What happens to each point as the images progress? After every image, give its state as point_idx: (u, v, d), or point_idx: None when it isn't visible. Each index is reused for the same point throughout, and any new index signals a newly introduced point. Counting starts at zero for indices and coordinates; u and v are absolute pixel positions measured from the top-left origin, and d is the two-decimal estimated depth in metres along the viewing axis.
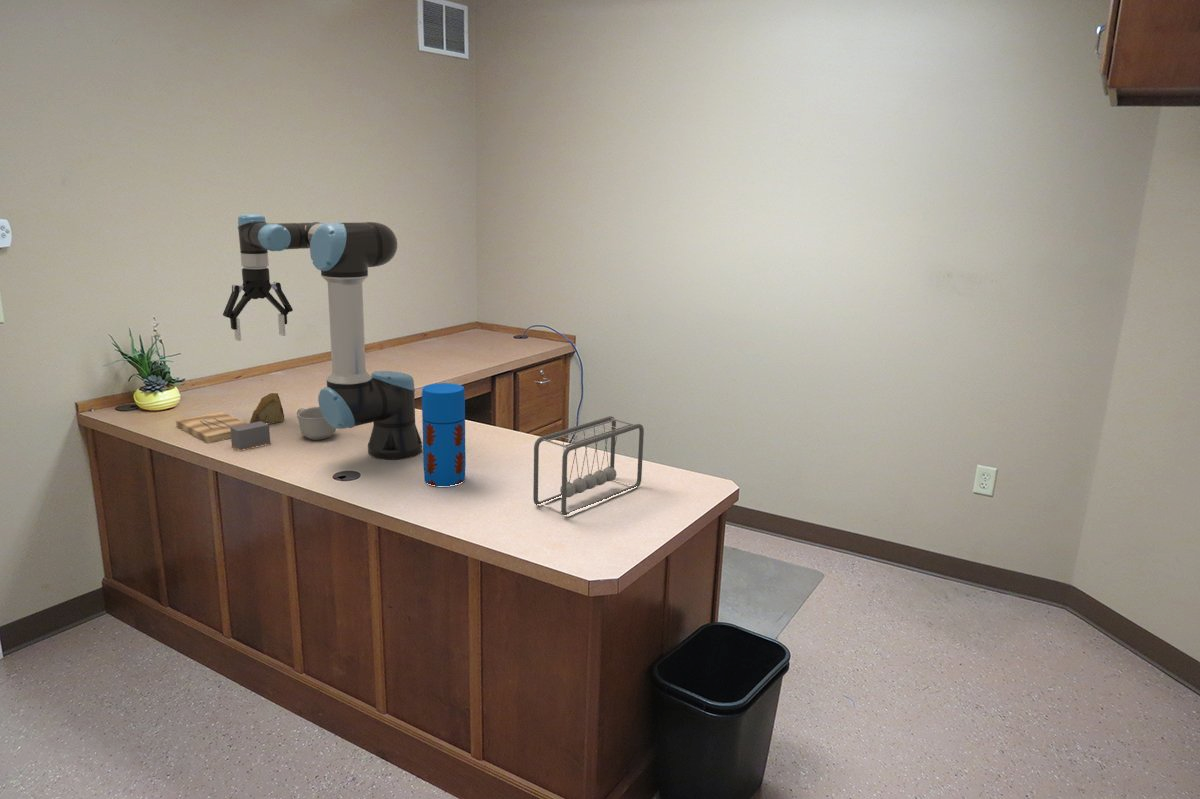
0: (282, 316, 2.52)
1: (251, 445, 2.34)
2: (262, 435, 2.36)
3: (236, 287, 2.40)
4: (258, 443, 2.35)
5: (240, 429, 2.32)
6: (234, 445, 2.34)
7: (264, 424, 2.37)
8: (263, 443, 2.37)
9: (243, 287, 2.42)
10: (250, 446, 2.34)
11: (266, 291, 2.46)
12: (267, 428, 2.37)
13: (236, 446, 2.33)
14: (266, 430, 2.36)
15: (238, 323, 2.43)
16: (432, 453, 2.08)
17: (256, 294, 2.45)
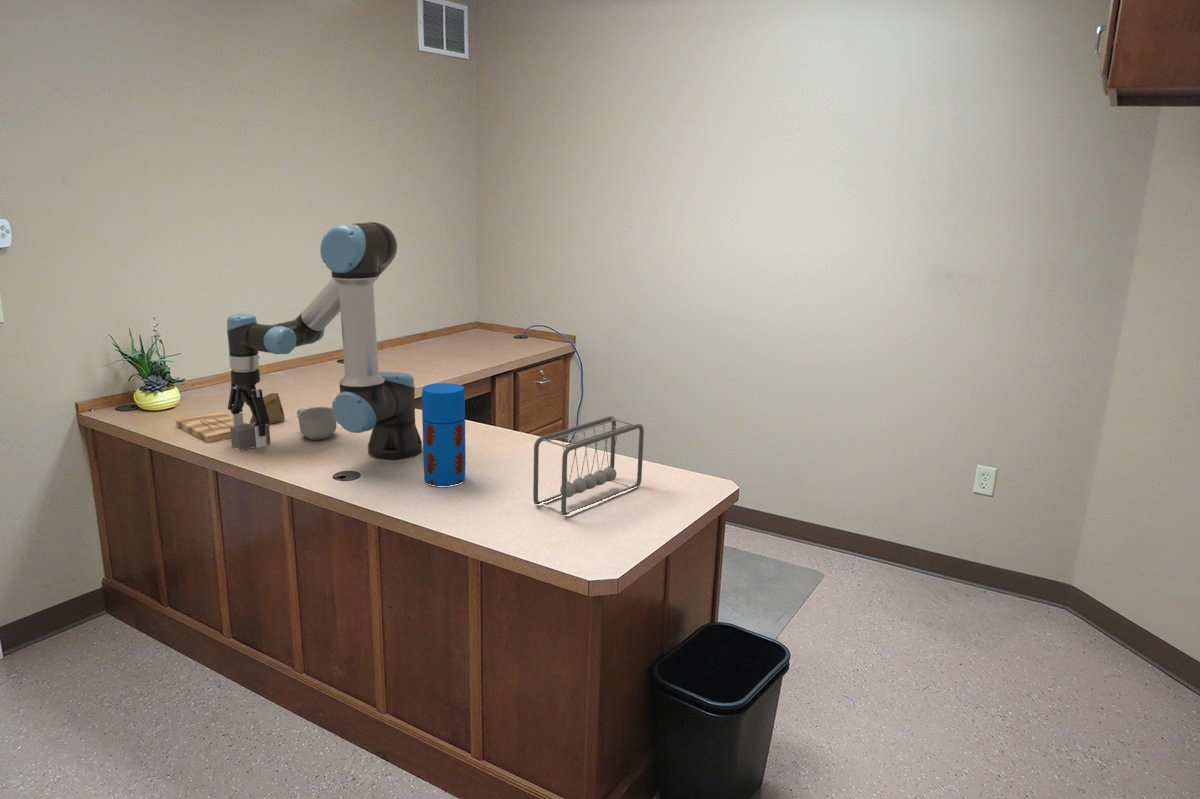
0: (255, 426, 2.30)
1: (251, 445, 2.34)
2: None
3: (231, 383, 2.35)
4: None
5: (240, 429, 2.32)
6: (234, 445, 2.34)
7: None
8: None
9: None
10: (250, 446, 2.34)
11: (243, 396, 2.30)
12: (267, 428, 2.37)
13: (236, 446, 2.33)
14: (266, 430, 2.36)
15: (233, 418, 2.38)
16: (432, 453, 2.08)
17: (241, 396, 2.32)
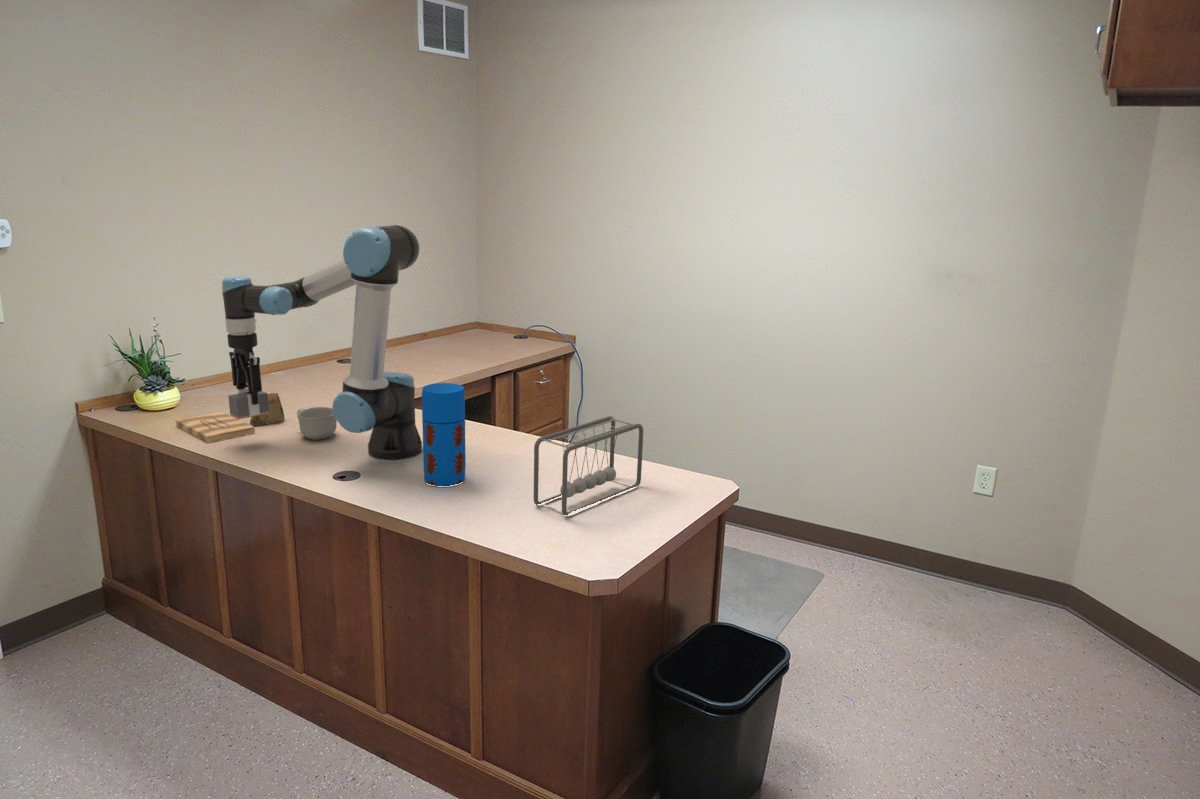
0: (248, 395, 2.30)
1: None
2: (261, 403, 2.33)
3: None
4: None
5: (238, 397, 2.29)
6: (232, 413, 2.31)
7: (262, 392, 2.34)
8: (262, 411, 2.34)
9: None
10: None
11: (240, 360, 2.27)
12: (265, 396, 2.34)
13: (234, 414, 2.30)
14: (265, 398, 2.34)
15: None
16: (432, 453, 2.08)
17: (239, 360, 2.30)
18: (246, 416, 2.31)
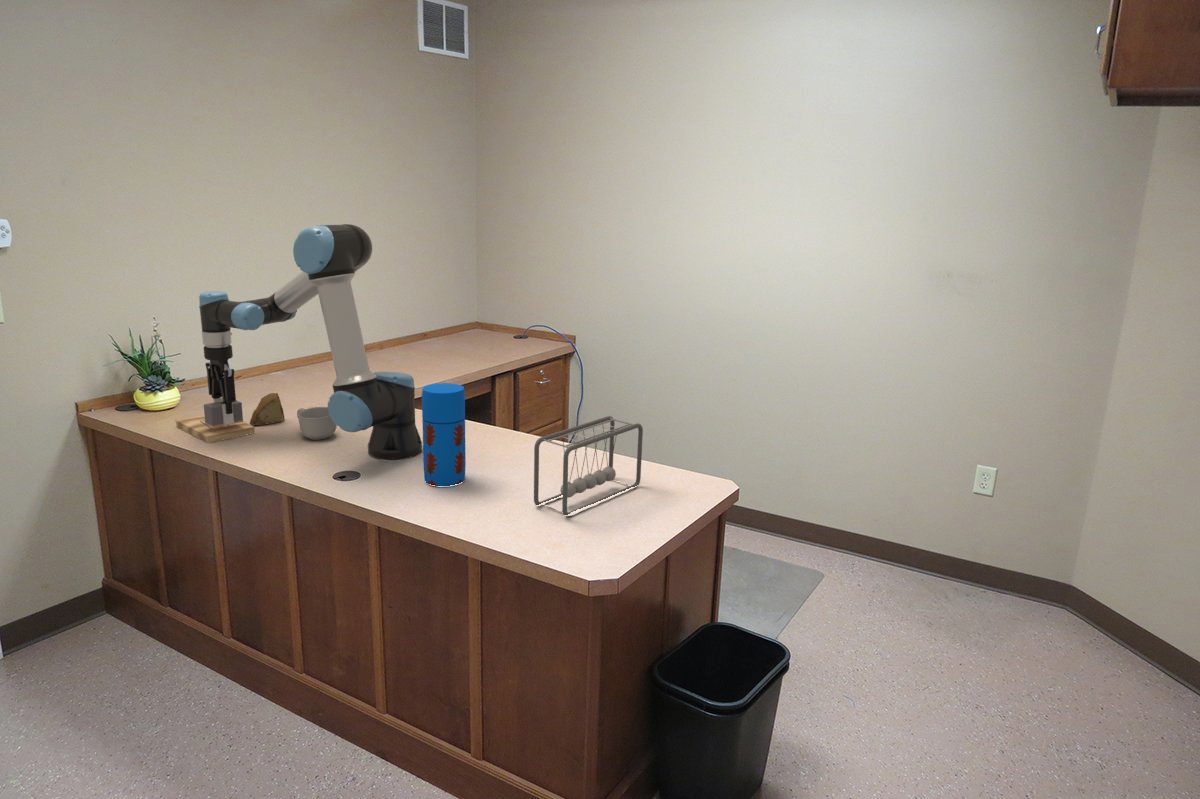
0: (222, 404, 2.39)
1: None
2: (235, 412, 2.43)
3: (205, 364, 2.42)
4: None
5: (213, 406, 2.39)
6: (207, 422, 2.41)
7: (237, 402, 2.44)
8: (236, 420, 2.44)
9: None
10: (223, 423, 2.41)
11: (216, 371, 2.37)
12: (239, 405, 2.44)
13: (209, 423, 2.40)
14: (239, 408, 2.44)
15: None
16: (432, 453, 2.08)
17: (215, 371, 2.39)
18: (220, 424, 2.40)
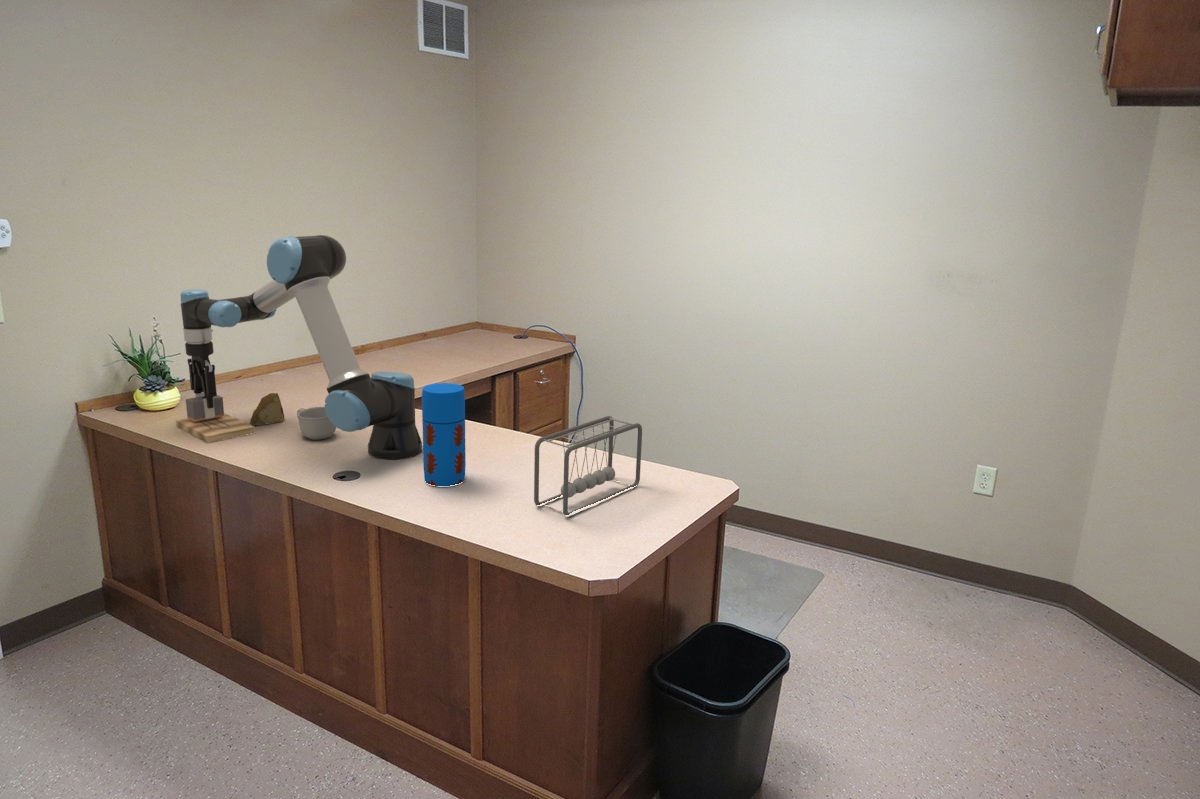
0: (203, 399, 2.48)
1: None
2: (216, 407, 2.51)
3: None
4: None
5: (194, 401, 2.47)
6: (189, 416, 2.49)
7: (218, 397, 2.52)
8: (217, 414, 2.52)
9: None
10: (204, 417, 2.49)
11: (197, 367, 2.45)
12: (220, 400, 2.52)
13: (191, 417, 2.48)
14: (220, 402, 2.52)
15: None
16: (432, 453, 2.08)
17: None
18: (202, 418, 2.49)
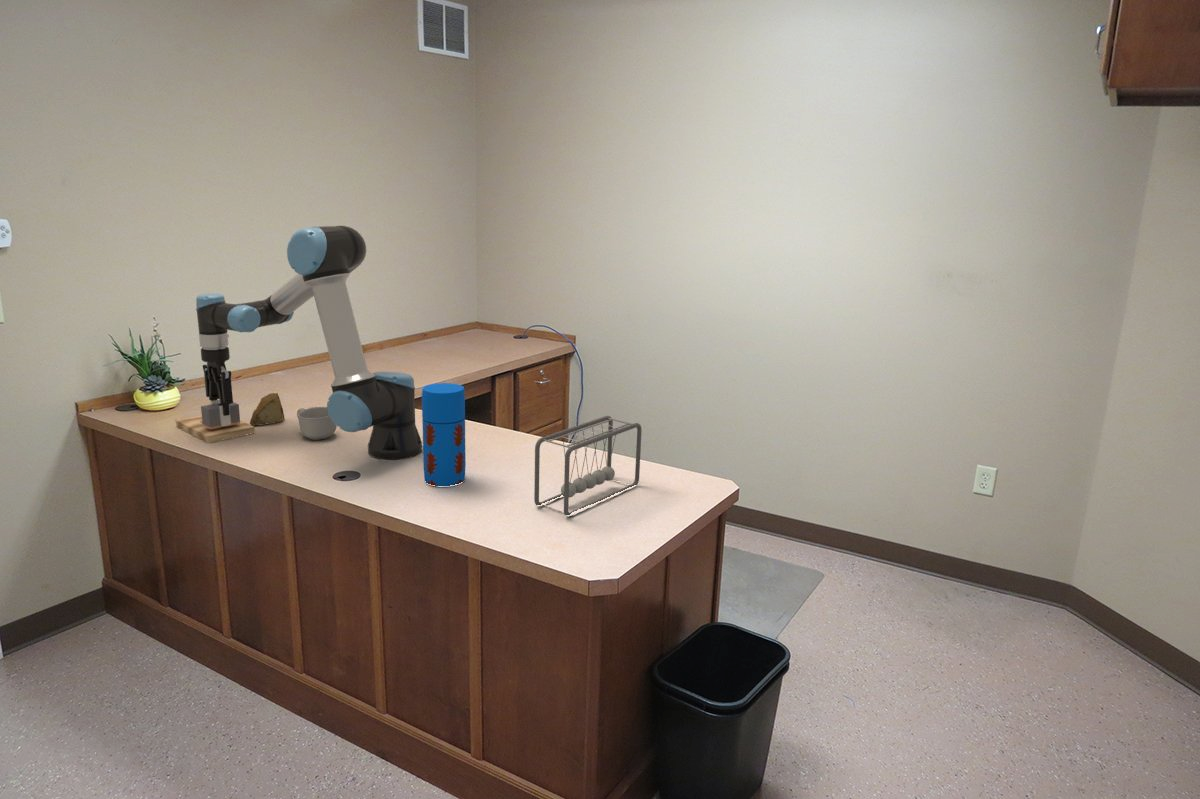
0: (219, 406, 2.41)
1: None
2: (232, 414, 2.45)
3: (203, 367, 2.44)
4: None
5: (210, 408, 2.40)
6: (204, 423, 2.42)
7: (234, 403, 2.46)
8: (233, 422, 2.45)
9: None
10: (220, 424, 2.42)
11: (213, 373, 2.39)
12: (236, 407, 2.45)
13: (206, 424, 2.41)
14: (236, 409, 2.45)
15: None
16: (432, 453, 2.08)
17: (212, 373, 2.41)
18: (217, 426, 2.42)
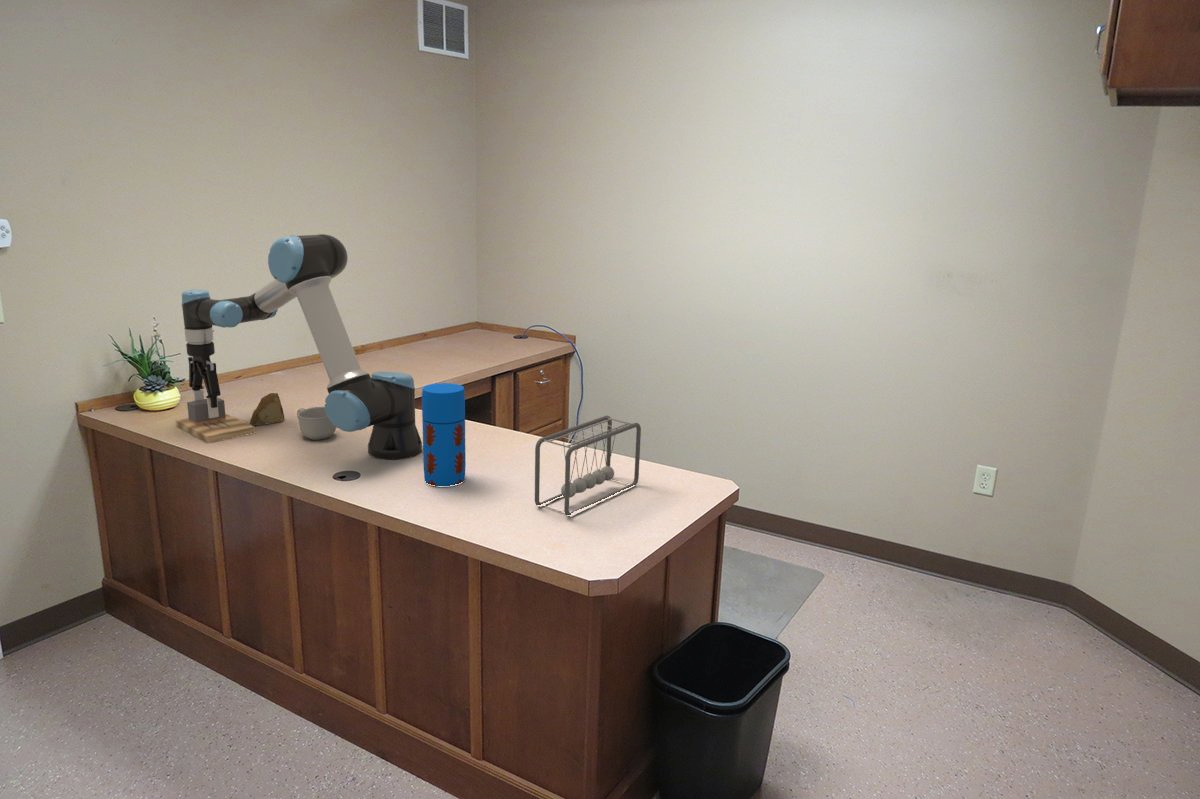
0: (207, 398, 2.46)
1: (207, 419, 2.49)
2: (218, 410, 2.51)
3: None
4: None
5: (196, 404, 2.47)
6: (191, 419, 2.49)
7: (219, 400, 2.52)
8: (218, 417, 2.52)
9: None
10: (206, 420, 2.49)
11: (198, 367, 2.45)
12: (222, 403, 2.52)
13: (192, 420, 2.48)
14: (221, 405, 2.52)
15: (194, 395, 2.52)
16: (432, 453, 2.08)
17: (197, 367, 2.47)
18: (203, 421, 2.48)
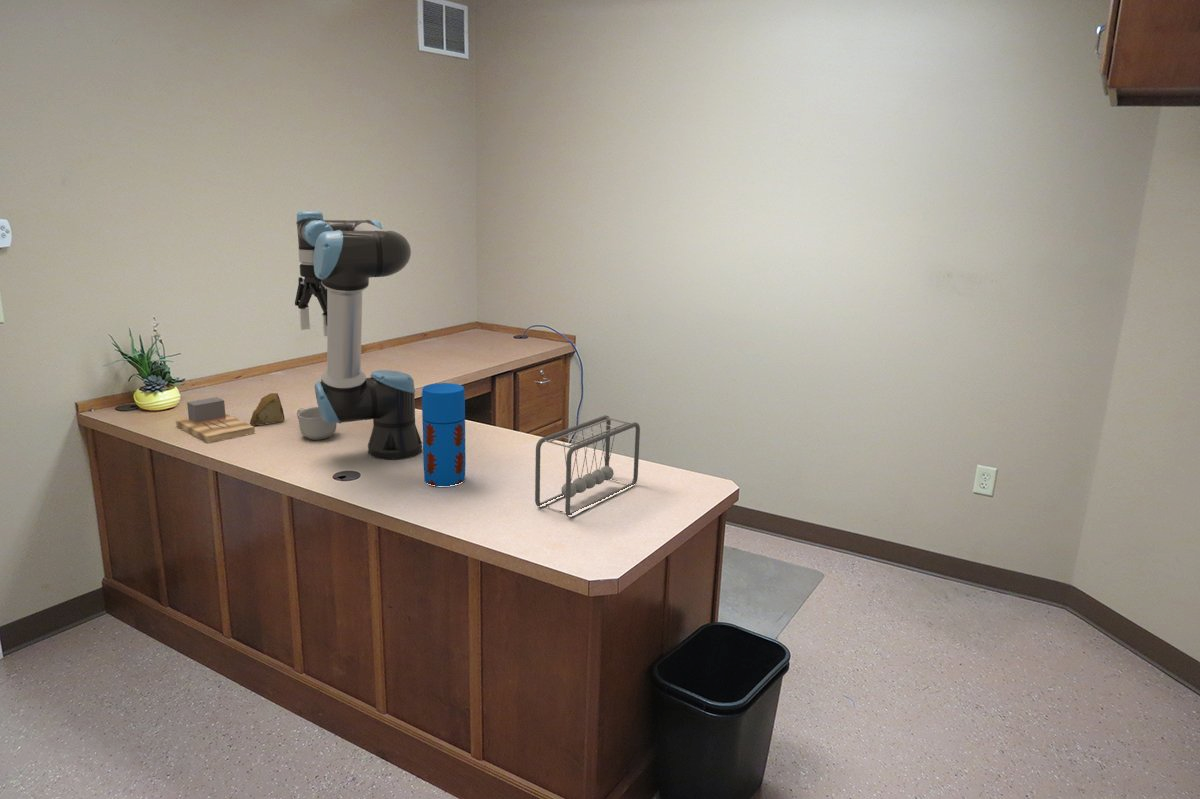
0: (323, 316, 2.47)
1: (207, 419, 2.49)
2: (218, 410, 2.51)
3: None
4: (214, 417, 2.51)
5: (196, 404, 2.47)
6: (191, 419, 2.49)
7: (219, 400, 2.52)
8: (218, 417, 2.52)
9: None
10: (206, 420, 2.49)
11: (312, 288, 2.47)
12: (222, 403, 2.52)
13: (192, 420, 2.48)
14: (221, 405, 2.52)
15: (300, 313, 2.56)
16: (432, 453, 2.08)
17: (309, 289, 2.50)
18: (203, 421, 2.48)
